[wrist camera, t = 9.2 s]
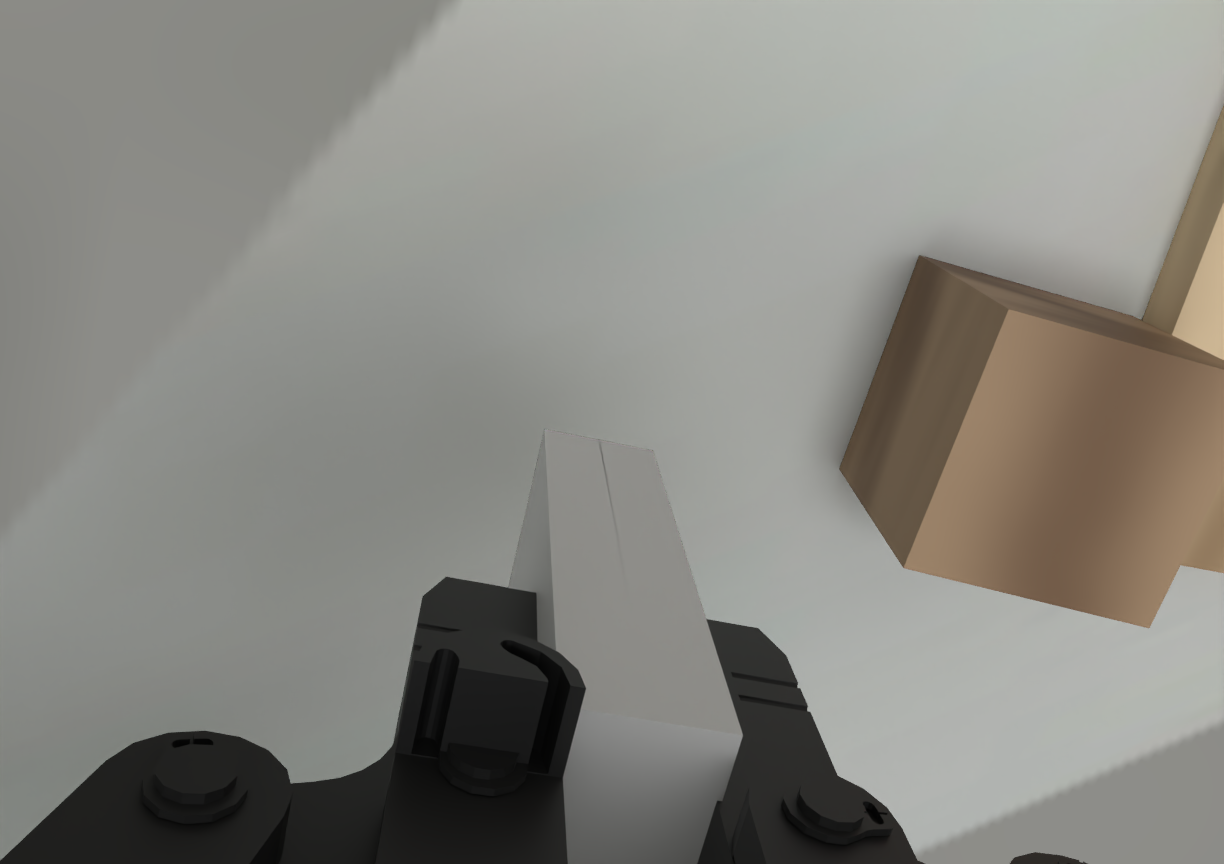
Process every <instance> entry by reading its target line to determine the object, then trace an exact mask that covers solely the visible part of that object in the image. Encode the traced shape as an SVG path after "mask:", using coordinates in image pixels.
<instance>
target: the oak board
mask: <svg viewBox="0 0 1224 864" xmlns="http://www.w3.org/2000/svg"><path fill="white" fill-rule="evenodd" d="M1142 321H1144V322H1146V323H1148V324H1150V325H1152V326H1154V327H1156V328H1158V329H1160V330H1162V331H1164V332H1166V333H1169V334H1171V335H1173V336H1175V337H1177V338H1179V339H1181V340H1183V341H1185V342H1187V343H1189V344H1191V345H1193V346H1195V347H1197V348H1199V349H1202V350H1204V351H1206V352H1208V353H1210V354H1212V355H1214V356H1216V357H1218V358H1220V359H1222V360H1224V106H1223V108H1222V111H1221V114H1220V116H1219V119H1218V121H1217V124H1216V127H1215V129H1214V132H1213V135H1212V137H1211V140H1210V143H1209V145H1208V148H1207V150H1206V153H1205V156H1204V158H1203V161H1202V164H1201V166H1200V169H1199V172H1198V174H1197V177H1196V179H1195V182H1194V185H1193V187H1192V190H1191V193H1190V195H1189V198H1188V200H1187V203H1186V206H1185V208H1184V211H1183V214H1182V216H1181V219H1180V222H1179V224H1178V227H1177V229H1176V232H1175V235H1174V237H1173V240H1172V243H1171V245H1170V248H1169V251H1168V253H1167V256H1166V258H1165V261H1164V264H1163V266H1162V269H1161V272H1160V274H1159V277H1158V280H1157V282H1156V285H1155V287H1154V290H1153V293H1152V295H1151V298H1150V301H1149V303H1148V306H1147V309H1146V311H1145V314H1144V316H1143V319H1142ZM1181 565H1183V566H1188V567H1194V568H1199V569H1205V570H1210V571H1216V572H1221V573H1224V478H1223V480H1222V482H1221V484H1220V486H1219V488H1218V490H1217V492H1216V494H1215V496H1214V498H1213V500H1212V502H1211V504H1210V506H1209V508H1208V511H1207V513H1206V515H1205V517H1204V519H1203V521H1202V523H1201V525H1200V527H1199V529H1198V531H1197V533H1196V535H1195V537H1194V539H1193V541H1192V543H1191V545H1190V547H1189V549H1188V551H1187V553H1186V555H1185V557H1184V559H1183V561H1182V563H1181Z"/></svg>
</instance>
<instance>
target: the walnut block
mask: <svg viewBox="0 0 1224 864" xmlns="http://www.w3.org/2000/svg"><path fill="white" fill-rule="evenodd" d="M839 469H840V471H841V473H842V474H843V476H844V477H845V479H846V480H847V482H848V483H849V485H850V486H851V488H852V489H853V491H854V493H855V494H856V496H857V497H858V499H859V500H860V502H861V503H862V505H863V506H864V508H865V509H866V511H867V513H868V514H869V516H870V517H871V519H872V520H873V522H874V523H875V525H876V526H877V528H878V530H879V531H880V533H881V534H882V536H883V537H884V539H885V540H886V542H887V543H888V545H889V546H890V548H891V550H892V551H893V553H894V554H895V556H896V557H897V559H898V560H899V562H900V563H901V565H902V567H903V568H906V569H910V570H914V571H918V572H922V573H926V574H930V575H934V576H938V577H942V578H946V579H950V580H955V581H959V582H963V583H967V584H971V585H975V586H979V587H983V588H987V589H991V590H995V591H999V592H1003V593H1008V594H1012V595H1016V596H1020V597H1024V598H1028V599H1032V600H1036V601H1040V602H1044V603H1048V604H1052V605H1057V606H1061V607H1065V608H1069V609H1073V610H1077V611H1081V612H1085V613H1089V614H1093V615H1097V616H1101V617H1105V618H1110V619H1114V620H1118V621H1122V622H1126V623H1130V624H1134V625H1138V626H1142V627H1146V628H1150V626H1151V624H1152V622H1153V620H1154V618H1155V616H1156V613H1157V611H1158V609H1159V607H1160V605H1161V603H1162V601H1163V599H1164V597H1165V595H1166V593H1167V591H1168V589H1169V587H1170V585H1171V583H1172V581H1173V579H1174V577H1175V575H1176V573H1177V571H1178V569H1179V567H1180V565H1181V563H1182V561H1183V559H1184V557H1185V555H1186V553H1187V551H1188V549H1189V547H1190V545H1191V543H1192V541H1193V539H1194V537H1195V535H1196V533H1197V531H1198V529H1199V527H1200V525H1201V523H1202V521H1203V519H1204V517H1205V515H1206V513H1207V511H1208V508H1209V506H1210V504H1211V502H1212V500H1213V498H1214V496H1215V494H1216V492H1217V490H1218V488H1219V486H1220V484H1221V482H1222V480H1223V478H1224V360H1222V359H1220V358H1218V357H1216V356H1214V355H1212V354H1210V353H1208V352H1206V351H1204V350H1202V349H1199V348H1197V347H1195V346H1193V345H1191V344H1189V343H1187V342H1185V341H1183V340H1181V339H1179V338H1177V337H1175V336H1173V335H1171V334H1169V333H1166V332H1164V331H1162V330H1160V329H1158V328H1156V327H1154V326H1152V325H1150V324H1148V323H1146V322H1144V321H1142V320H1140V319H1138V318H1136V317H1134V316H1130V315H1127V314H1123V313H1120V312H1116V311H1113V310H1109V309H1106V308H1102V307H1099V306H1095V305H1092V304H1088V303H1085V302H1081V301H1078V300H1074V299H1071V298H1067V297H1064V296H1060V295H1057V294H1053V293H1050V292H1046V291H1043V290H1039V289H1036V288H1032V287H1029V286H1025V285H1022V284H1018V283H1015V282H1011V281H1008V280H1004V279H1001V278H997V277H994V276H991V275H987V274H984V273H980V272H977V271H973V270H970V269H966V268H963V267H959V266H956V265H952V264H949V263H945V262H942V261H938V260H935V259H931V258H928V257H924V256H921V255H919V257H918V260H917V263H916V265H915V268H914V271H913V273H912V276H911V279H910V281H909V284H908V287H907V289H906V292H905V295H904V297H903V300H902V303H901V305H900V308H899V311H898V313H897V316H896V319H895V321H894V324H893V327H892V329H891V332H890V335H889V338H888V340H887V343H886V346H885V348H884V351H883V354H882V356H881V359H880V362H879V364H878V367H877V370H876V372H875V375H874V378H873V380H872V383H871V386H870V388H869V391H868V394H867V396H866V399H865V402H864V404H863V407H862V410H861V412H860V415H859V418H858V420H857V423H856V426H855V428H854V431H853V434H852V436H851V439H850V442H849V444H848V447H847V450H846V452H845V455H844V458H843V460H842V463H841V466H840V468H839Z"/></svg>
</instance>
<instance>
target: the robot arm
mask: <svg viewBox="0 0 1224 864" xmlns="http://www.w3.org/2000/svg"><path fill="white" fill-rule="evenodd" d="M797 685H798V682H797V680H796V678H795V675H794V673H793V671H792V668H791V666H790V664H789V661H788V659H787V657H786V655H785V654H784V653H783V652H782V651H781V650H780V649H779V648H778V647H777V646H776V645H775V644H774V643H773V642H772V641H771V640H770V639H769V638H768V637H767V636H766V635H764V634H763V633H762V632H761V631H760V630H759V629H758V628H753V627H747V626H742V625H736V624H730V623H725V622H719V621H713V620H708V619H706V617H705V614H704V610H703V607H702V604H701V601H700V598H699V595H698V592H697V588H696V585H695V582H694V579H693V576H692V573H691V569H690V566H689V563H688V560H687V557H686V554H685V550H684V547H683V544H682V541H681V538H680V535H679V531H678V528H677V525H676V522H675V519H674V516H673V513H672V509H671V506H670V503H669V500H668V497H667V494H666V490H665V487H664V484H663V481H662V478H661V475H660V471H659V468H658V465H657V462H656V459H655V456H654V452H653V450H648V449H643V448H638V447H633V446H628V445H623V444H618V443H613V442H608V441H603V440H598V439H592V438H587V437H582V436H577V435H572V434H567V433H562V432H557V431H552V430H547V429H544V433H543V437H542V442H541V446H540V451H539V455H538V459H537V464H536V468H535V473H534V477H533V481H532V486H531V490H530V494H529V499H528V503H527V508H526V512H525V516H524V521H523V525H522V530H521V534H520V538H519V543H518V547H517V551H516V556H515V560H514V565H513V569H512V573H511V578H510V582H509V587H508V588H506V587H501V586H495V585H489V584H484V583H478V582H472V581H467V580H461V579H455V578H450V577H445V578H444V579H443V580H442V581H441V582H439V583H438V584H437V585H436V586H435V587H433V588H432V589H431V590H430V591H428V592H427V593H426V594H425V595H424V596H423V598H422V603H421V608H420V613H419V618H418V623H417V628H416V633H415V638H414V643H413V647H412V652H411V657H410V662H409V667H408V672H407V677H406V682H405V687H404V692H403V697H402V702H401V707H400V712H399V717H398V722H397V728H396V733H395V738H394V743H393V746H392V747H391V748H390V749H389V750H388V752H387V753H386V754H385V755H384V756H383V757H382V758H381V759H380V760H378V761H377V762H375V763H374V764H372V765H370V766H369V767H367V768H365V769H364V770H362V771H359V772H356V773H353V774H350V775H347V776H344V777H341V778H336V779H330V780H323V781H317V782H306V783H293V784H291V783H290V779H289V775H288V772H287V769H286V768H285V767H284V766H283V765H282V764H281V763H280V762H279V761H278V760H277V759H276V758H275V757H274V756H273V755H272V754H271V753H270V752H269V751H268V750H266V749H264V748H262V747H260V746H258V745H256V744H254V743H251V742H249V741H247V740H245V739H243V738H241V737H237V736H231V735H225V734H220V733H214V732H208V731H193V732H175V733H166V734H162V735H159V736H156V737H152V738H149V739H145V740H142V741H139V742H135V743H133V744H131V745H130V746H128V747H127V748H125V749H123V750H122V751H120V752H119V753H117V754H116V755H114V756H113V757H111V758H110V759H108V760H106V761H105V762H104V763H103V764H102V765H101V766H100V767H99V768H98V769H97V770H96V771H95V772H94V773H93V774H92V775H91V776H89V777H88V778H87V779H86V780H85V781H84V782H83V783H82V784H81V785H80V786H79V787H78V788H77V789H76V790H75V791H74V792H73V793H72V794H70V795H69V796H68V797H67V798H66V799H65V800H64V801H63V802H62V803H61V804H60V805H59V806H58V807H57V808H56V809H55V810H54V811H52V812H51V813H50V814H49V815H48V816H47V817H46V818H45V819H44V820H43V821H42V822H41V823H40V824H39V825H38V826H37V827H36V828H34V829H33V830H32V831H31V832H30V833H29V834H28V835H27V836H26V837H25V838H24V839H23V840H22V841H21V842H20V843H19V844H18V845H16V846H15V847H14V848H13V849H12V850H11V851H10V852H9V853H8V854H7V855H6V856H5V857H4V858H3V859H2V860H1V861H0V864H924V863H922V862H920V861H918V860H917V859H916V857H915V855H914V852H913V850H912V848H911V846H910V844H909V842H908V840H907V838H906V836H905V834H904V832H903V829H902V828H901V826H900V825H899V824H898V822H897V821H896V819H895V818H894V817H893V815H892V814H891V813H890V811H889V810H888V808H887V807H885V806H884V805H883V804H882V803H880V802H879V801H878V800H877V799H875V798H874V797H873V796H872V795H871V794H869V793H868V792H867V791H866V790H864V789H863V788H861V787H859V786H857V785H855V784H853V783H851V782H849V781H847V780H845V779H843V778H841V777H839V776H837V773H836V771H835V769H834V766H833V764H832V762H831V759H830V757H829V755H828V752H827V750H826V748H825V745H824V743H823V741H822V738H821V736H820V734H819V731H818V729H817V727H816V724H815V722H814V720H813V717H812V715H811V713H810V712H808V711H807V707H808V706H807V703H806V701H805V699H804V696H803V694H802V692H801V689H800V688H797ZM1010 864H1087V863H1085V862H1083V863H1081V862H1079V860H1076V859H1072V858H1068V857H1065V856H1060V855H1052V854H1044V853H1036V852H1035V853H1031V854H1027V855H1023V856H1019V857H1015V858H1014V859H1013V860H1012V861H1011V863H1010Z"/></svg>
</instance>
